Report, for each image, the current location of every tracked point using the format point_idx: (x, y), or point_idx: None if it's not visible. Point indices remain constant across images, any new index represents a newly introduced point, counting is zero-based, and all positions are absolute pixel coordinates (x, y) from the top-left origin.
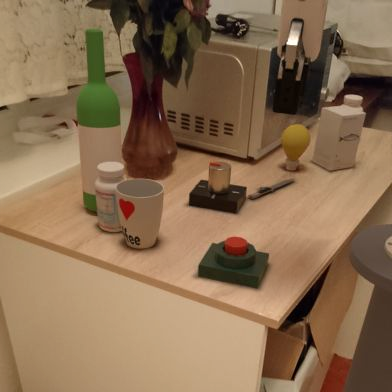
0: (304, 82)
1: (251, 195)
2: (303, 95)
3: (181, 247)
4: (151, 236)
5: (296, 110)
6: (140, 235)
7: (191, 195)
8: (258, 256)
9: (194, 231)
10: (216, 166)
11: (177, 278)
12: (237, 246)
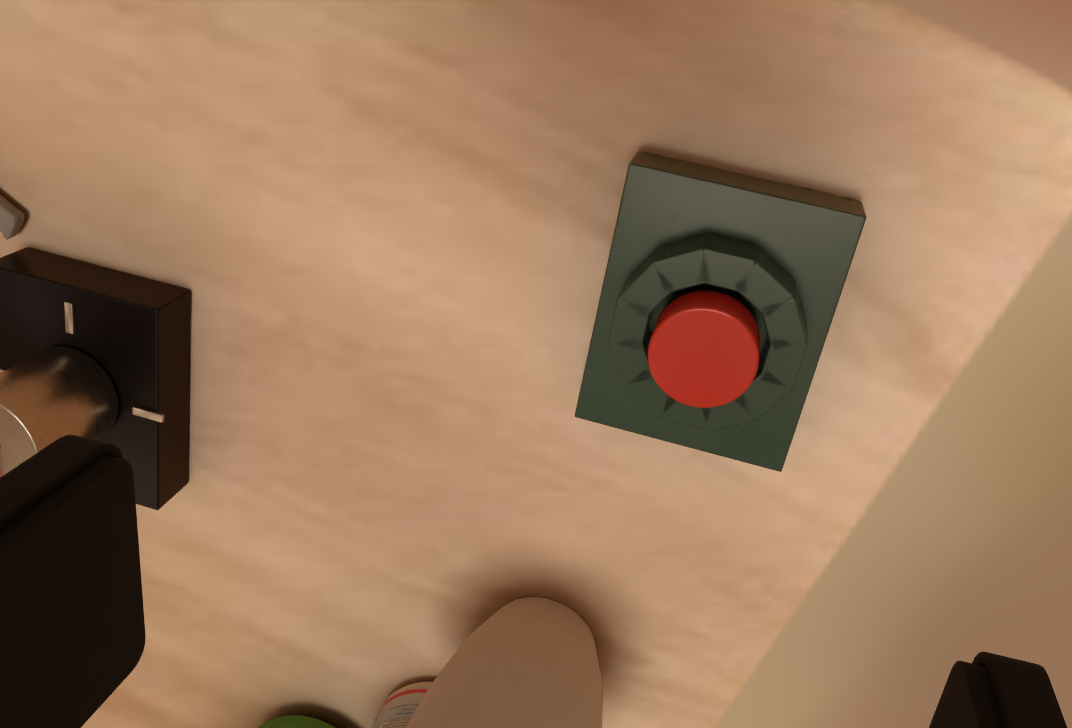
0: (20, 545)
1: (12, 227)
2: (114, 445)
3: (553, 505)
4: (579, 642)
5: (1041, 695)
6: (600, 685)
7: (161, 497)
8: (669, 216)
9: (406, 459)
10: (8, 463)
11: (804, 516)
12: (753, 355)
